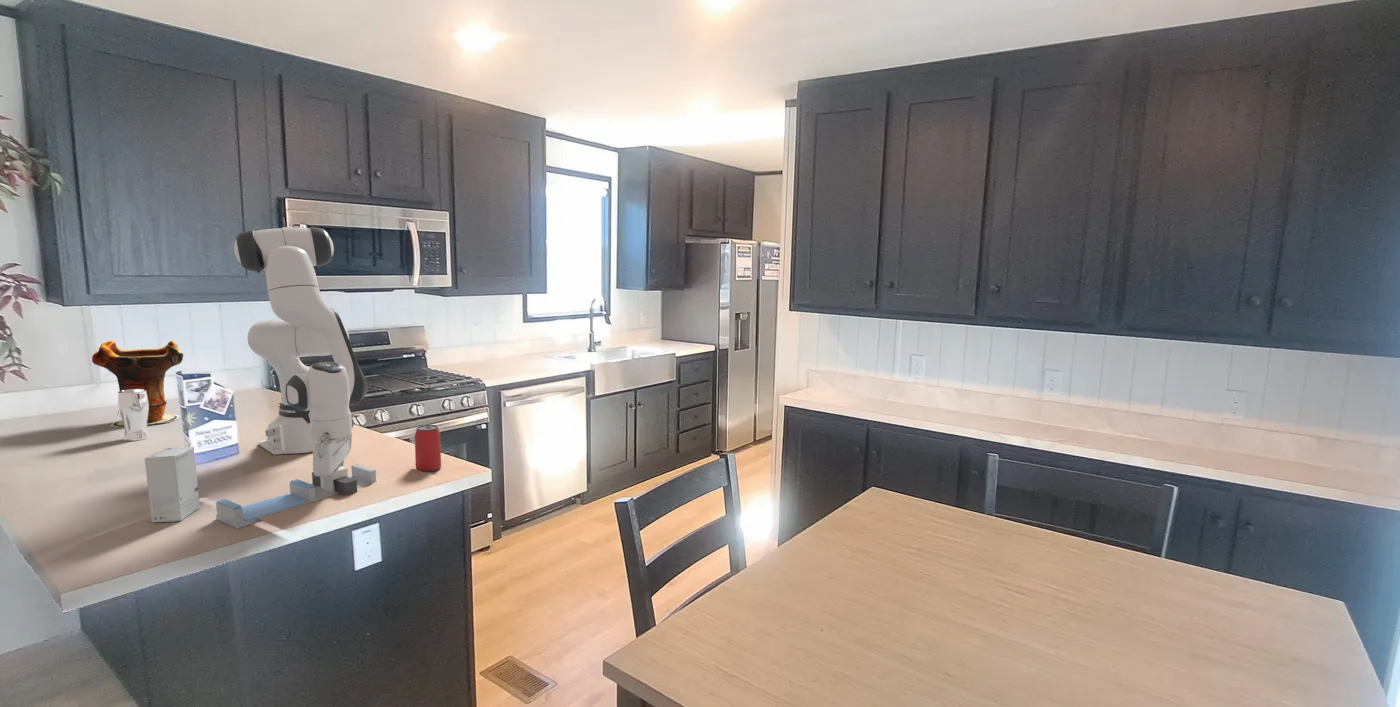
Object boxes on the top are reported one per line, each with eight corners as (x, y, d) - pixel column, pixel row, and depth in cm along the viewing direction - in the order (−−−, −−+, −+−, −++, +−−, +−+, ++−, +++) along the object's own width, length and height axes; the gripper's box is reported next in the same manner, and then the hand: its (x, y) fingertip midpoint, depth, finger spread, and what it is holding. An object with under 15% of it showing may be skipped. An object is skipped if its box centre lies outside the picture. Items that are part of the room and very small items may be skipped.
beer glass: (155, 437, 200) (151, 390, 198) (126, 442, 194) (121, 394, 192) (146, 434, 204) (142, 387, 202) (118, 438, 198) (113, 391, 196)
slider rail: (216, 519, 143) (214, 499, 142) (356, 478, 171) (355, 462, 170) (237, 528, 138) (235, 508, 138) (377, 485, 166) (376, 468, 166)
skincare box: (181, 522, 141) (175, 456, 139) (149, 523, 139) (142, 457, 137) (201, 507, 149) (196, 445, 147) (171, 508, 148) (165, 446, 145)
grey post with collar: (310, 484, 163) (309, 465, 162) (326, 479, 166) (325, 461, 165) (343, 495, 156) (342, 475, 155) (359, 490, 159) (358, 471, 159)
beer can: (445, 465, 183) (444, 424, 181) (433, 473, 177) (432, 430, 175) (423, 464, 184) (422, 423, 182) (411, 471, 177) (409, 429, 175)
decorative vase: (198, 419, 220) (185, 339, 215) (107, 435, 204) (91, 348, 199) (187, 409, 234) (175, 333, 229) (101, 422, 218) (86, 341, 213)
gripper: (334, 439, 150) (337, 495, 152) (355, 417, 169) (357, 468, 171) (303, 440, 148) (306, 497, 150) (328, 418, 168) (331, 469, 170)
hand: (334, 481), depth 161 cm, fingers closed on grey post with collar, 6 cm apart
